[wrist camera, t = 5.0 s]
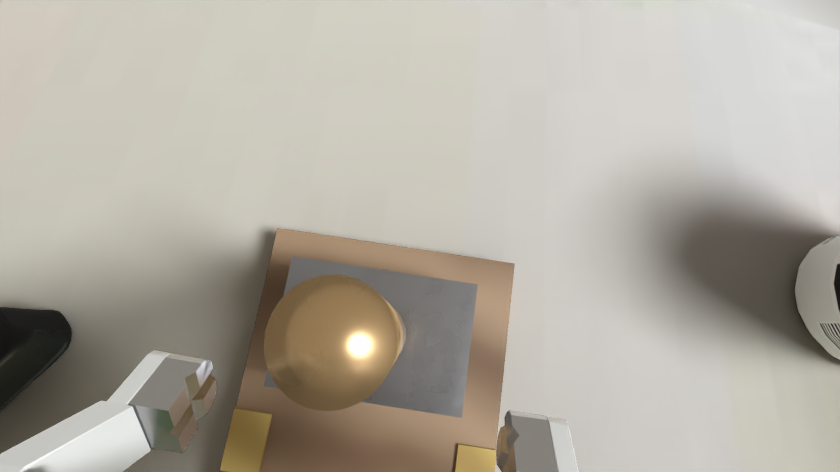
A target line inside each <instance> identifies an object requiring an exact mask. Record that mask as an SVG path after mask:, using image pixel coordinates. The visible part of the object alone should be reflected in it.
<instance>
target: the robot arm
mask: <svg viewBox="0 0 840 472" xmlns="http://www.w3.org/2000/svg"><path fill="white" fill-rule="evenodd" d="M212 370H213V366H212V362H211V360H206V359H201V358H195V357H190V356H185V355H179V354H174V353H169V352H163V351H157V350H154V351H152V352H150V353H149V354H147V355H146V356H145V357H144V359H143V360H142V361H141V362H140V363H139V364H138V365H137V367H136V368H135V369H134V370H133V371H132V372H131V374H130V375H129V376H128V377H127V378H126V379H125V380H124V382H123V383H122V384H121V385H120V386H119V387H118V389H117V390H116V391H115V392H114V393H113V394H112V395H111V397H110V398H109V399H108V400H107V401H102V400H101V401H99V402H97V403H95V404H93V405H91V406H89V407H88V408H86V409H84V410H82V411H80V412H78V413H76V414H74V415H72V416H71V417H69V418H67V419H65V420H63V421H61V422H59V423H57V424H55V425H54V426H52V427H50V428H48V429H46V430H44V431H42V432H40V433H39V434H37V435H35V436H33V437H31V438H29V439H27V440H25V441H23V442H22V443H20V444H18V445H16V446H14V447H12V448H10V449H8V450H6V451H5V452H3V453H1V454H0V472H123V471H124V470H126V469H127V468H128V467H130V466H131V465H132V464H134V463H135V462H136V461H138V460H139V459H140V458H141V457H143V456H144V455H145V454H147V453H148V452H149V451H151V449H150V448H152V449H159V450H166V451H173V452H179V453H183V452H184V451H185V449H186V447H187V446H188V444H189V442H190V441H191V439H192V438H193V436H194V434H195V433H196V431H197V420H198V419H200V418H201V417H203V416H205V415H206V414H207V413H208V411H209V410H210V408H211V406H212V404H213V402H214V399H215V396H216V392H217V383H216V379H215V378H214V377H213V376H212V375H211V374H210V373H211V371H212ZM496 457H497V465H498V467H499V468H500V470H501V471H502V472H579V471H578V467H577V462H576V458H575V453H574V449H573V444H572V440H571V435H570V431H569V426H568V423H567V422H566V420H564V419H559V418H552V417H545V416H544V415H537V414H530V413H524V412H517V411H511V410H509V411H508V412H507V413H506V416H505V426H503V427H501V429H500V432H499V435H498V440H497V451H496Z"/></svg>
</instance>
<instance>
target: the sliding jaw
mask: <svg viewBox="0 0 840 472" xmlns="http://www.w3.org/2000/svg"><path fill="white" fill-rule="evenodd" d="M477 288H478V284H472V283H466V282H459V281H453V280H446V279H440V278H433V277H426V276H420V275H413V274H407V273H400V272H393V271H387V270H380V269H374V268H367V267H360V266H354V265H347V264H341V263H334V262H327V261H321V260H314V259H308V258H301V257H294V256H292V259H291V264H290V268H289V273H288V277H287V282H286V286H285V291H284V295H283V298H282V299H281V300H280V301H279V303H278V304H277V305H276V307H275V308H274V310H273V312H272V314H271V316H270V318H269V321H268V323H267V327H266V330H265V337H264V356H265V361H266V365H267V372H266V377H265V381H264V387H270V388H276V389H280V390H281V391H282V392H283V393H284V394H285V395H286V396H287V397H288V398H289V399H291V400H292V401H294V402H295V403H297V404H299V405H301V406H304V407H306V408H309V409H313V410H319V411H336V410H341V409H345V408H348V407H351V406H354V405H356V404H358V403H360V402H365V403H371V404H377V405H383V406H390V407H396V408H402V409H409V410H415V411H421V412H428V413H434V414H440V415H446V416H453V417H459V418H462V413H463V404H464V396H465V388H466V379H467V371H468V363H469V354H470V346H471V338H472V329H473V321H474V313H475V304H476V296H477Z"/></svg>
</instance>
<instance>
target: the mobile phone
mask: <svg viewBox="0 0 840 472" xmlns="http://www.w3.org/2000/svg"><path fill="white" fill-rule="evenodd" d="M70 340H71V328H70V326H69V324H68V322H67V321H66V319H65V318H64V316H63V315H62V314H61V313H60V312H58V311H54V310H31V309H18V308H6V307H0V410H1V409H2V408H3V407H4V406H5V405H6V404H7V403H8V402H9V401H11V400H12V399H13V398H14V397H15V396H16V395H17V394H18V393H20V392H21V391H22V390H23V389H24V388H25V387H26V386H28V385H29V384H30V383H31V382H32V381H33V380H35V379H36V378H37V377H38V376H39V375H40V374H42V373H43V372H44V371H45V370H46V369H47V368H49V367H50V366H51V365H52V364H53V363H54V362H55V361H56V360H57V359H58V358H59V357H60V356H61V355H62V354H63V353H64V351H65V350H66V349H67V348H68V346H69V343H70Z"/></svg>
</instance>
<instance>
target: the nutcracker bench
mask: <svg viewBox="0 0 840 472" xmlns="http://www.w3.org/2000/svg"><path fill="white" fill-rule="evenodd" d="M292 256H294V257H301V258H308V259H314V260H321V261H327V262H334V263H341V264H347V265H354V266H360V267H367V268H374V269H380V270H387V271H393V272H400V273H407V274H413V275H420V276H426V277H433V278H440V279H446V280H453V281H459V282H466V283H472V284H478V288H477V296H476V304H475V313H474V321H473V329H472V338H471V346H470V354H469V363H468V371H467V379H466V388H465V396H464V404H463V413H462V418H459V417H453V416H446V415H440V414H434V413H428V412H421V411H415V410H409V409H402V408H396V407H390V406H383V405H377V404H371V403H365V402H360V403H358V404H356V405H354V406H351V407H348V408H345V409H341V410H336V411H319V410H313V409H309V408H306V407H304V406H301V405H299V404H297V403H295V402H294V401H292V400H291V399H289V398H288V397H287V396H286V395H285V394H284V393H283V392H282V391H281V390H280V389H276V388H270V387H264V381H265V377H266V372H267V365H266V361H265V356H264V337H265V330H266V327H267V323H268V321H269V318H270V316H271V314H272V312H273V310H274V308H275V307H276V305H277V304H278V303H279V301H280V300H281V299H282V298H283V295H284V291H285V286H286V282H287V277H288V273H289V268H290V264H291V259H292ZM513 274H514V264H513V263H506V262H500V261H493V260H486V259H480V258H473V257H466V256H460V255H453V254H446V253H440V252H433V251H427V250H420V249H413V248H407V247H400V246H393V245H387V244H380V243H373V242H367V241H360V240H353V239H347V238H340V237H333V236H327V235H320V234H313V233H307V232H300V231H293V230H287V229H280V228H277V232H276V237H275V241H274V245H273V250H272V254H271V258H270V263H269V267H268V271H267V275H266V280H265V284H264V288H263V293H262V297H261V301H260V305H259V310H258V314H257V318H256V323H255V327H254V331H253V336H252V340H251V344H250V348H249V353H248V357H247V361H246V366H245V370H244V374H243V379H242V383H241V387H240V391H239V396H238V400H237V404H236V408H234V411H233V415H232V420H231V424H230V428H229V433H228V437H227V441H226V445H225V450H224V454H223V458H222V463H221V467H220V470H221V472H494V469H495V459H496V441H497V431H498V421H499V412H500V402H501V392H502V382H503V372H504V362H505V352H506V343H507V333H508V323H509V313H510V303H511V293H512V284H513Z"/></svg>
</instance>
